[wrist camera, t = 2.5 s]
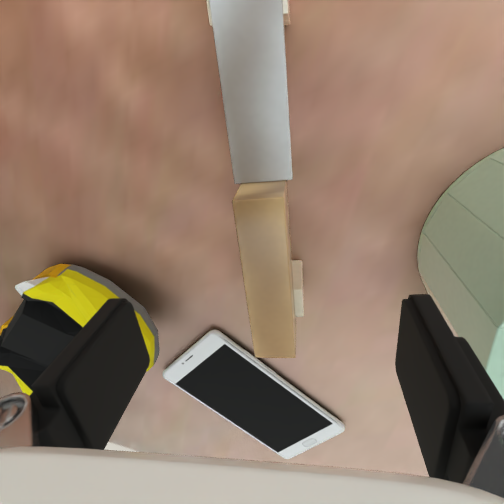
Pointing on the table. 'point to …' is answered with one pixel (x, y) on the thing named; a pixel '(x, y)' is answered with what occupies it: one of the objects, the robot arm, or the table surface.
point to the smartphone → (251, 396)
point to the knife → (259, 162)
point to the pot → (470, 261)
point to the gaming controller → (59, 319)
